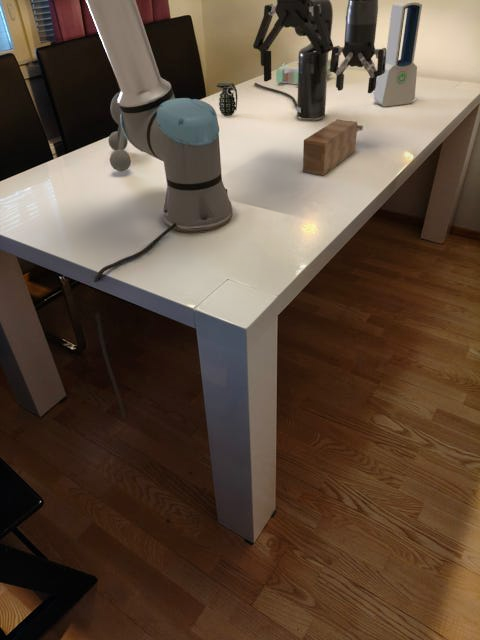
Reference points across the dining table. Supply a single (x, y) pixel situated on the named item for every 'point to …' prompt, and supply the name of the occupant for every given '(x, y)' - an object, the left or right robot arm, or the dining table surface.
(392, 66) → the electronic device
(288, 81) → the decorative block
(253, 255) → the dining table surface
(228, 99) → the grenade
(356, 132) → the purple elongated piece
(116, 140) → the molecular model
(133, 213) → the dining table surface
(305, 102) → the right robot arm
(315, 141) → the brown wooden brick
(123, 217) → the dining table surface
